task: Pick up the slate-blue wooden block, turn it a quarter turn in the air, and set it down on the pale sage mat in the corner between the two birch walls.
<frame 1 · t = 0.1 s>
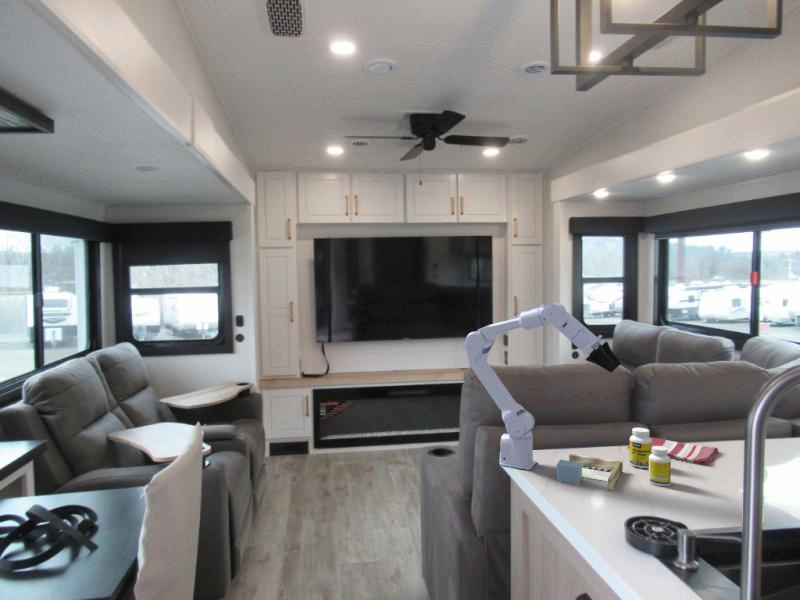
hand: (616, 368, 142), 32 cm above the kitchen island, tool tilted 50°, fingers open, 7 cm apart
dish towel: (672, 453, 166), on the kitchen island
pill bottle: (640, 466, 154), on the kitchen island
supplement bottle: (659, 483, 141), on the kitchen island
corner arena: (595, 474, 148), on the kitchen island
slate block: (569, 481, 144), on the kitchen island
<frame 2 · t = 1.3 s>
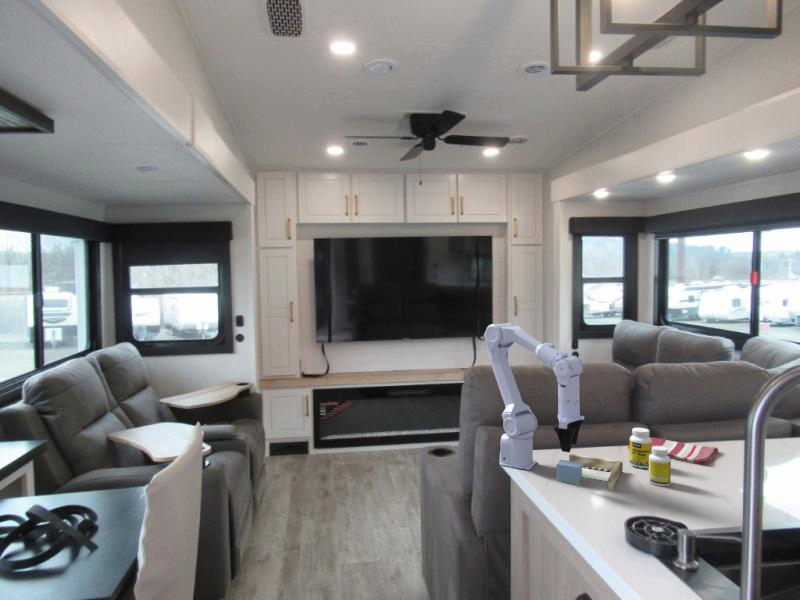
hand: (569, 447, 143), 9 cm above the kitchen island, tool pointing down, fingers open, 7 cm apart
nothing on the kitchen island moved.
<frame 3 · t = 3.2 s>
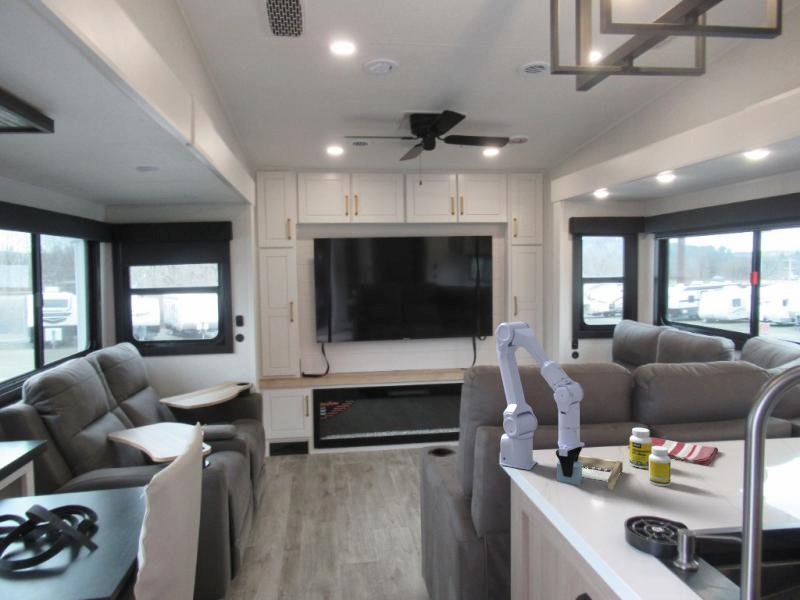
hand: (569, 473, 144), 2 cm above the kitchen island, tool pointing down, fingers closed on slate block, 4 cm apart
slate block: (569, 480, 144), on the kitchen island, touching gripper
everything else where it was.
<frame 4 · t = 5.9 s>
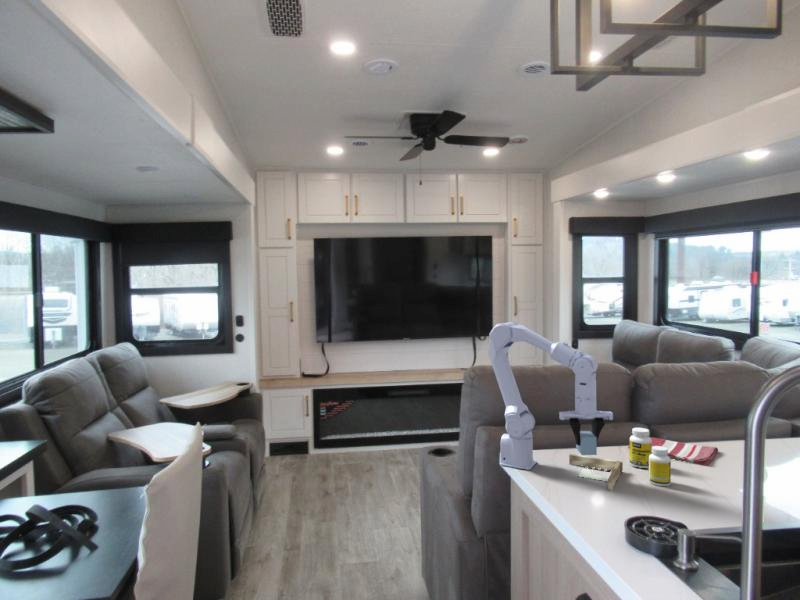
hand: (586, 444, 146), 9 cm above the kitchen island, tool pointing down, fingers closed on slate block, 4 cm apart
slate block: (586, 451, 146), point 7 cm above the kitchen island, touching gripper
everything else where it was.
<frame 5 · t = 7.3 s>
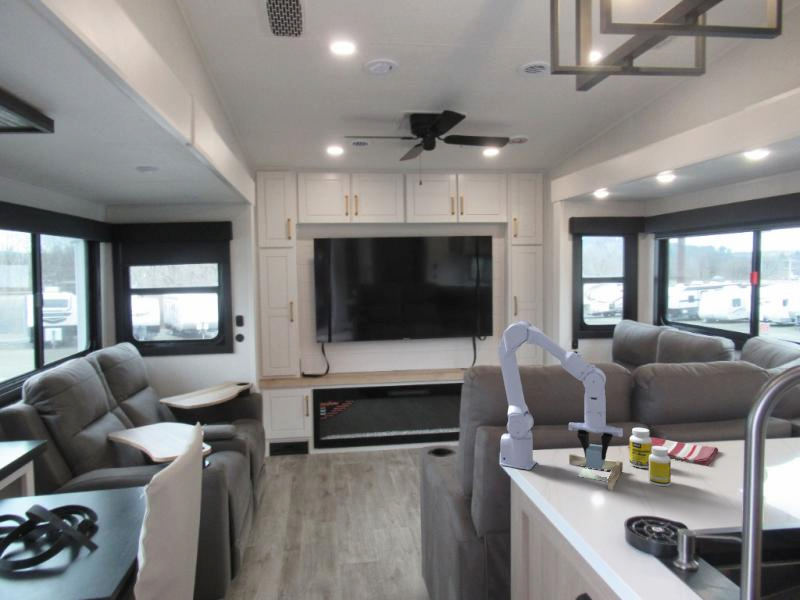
hand: (595, 457, 147), 5 cm above the kitchen island, tool pointing down, fingers closed on slate block, 4 cm apart
slate block: (595, 464, 148), point 3 cm above the kitchen island, touching gripper
everything else where it was.
when the fingers open (3 cm above the kitchen island, at t = 8.6 s): slate block stays where it is, resting on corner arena.
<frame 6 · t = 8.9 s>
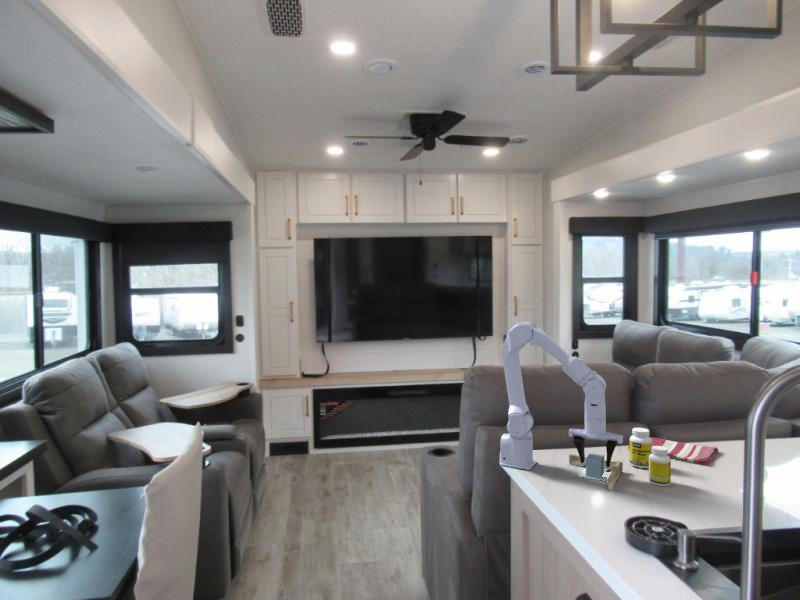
hand: (595, 464, 147), 3 cm above the kitchen island, tool pointing down, fingers open, 6 cm apart
slate block: (595, 473, 148), resting on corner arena
everything else where it was.
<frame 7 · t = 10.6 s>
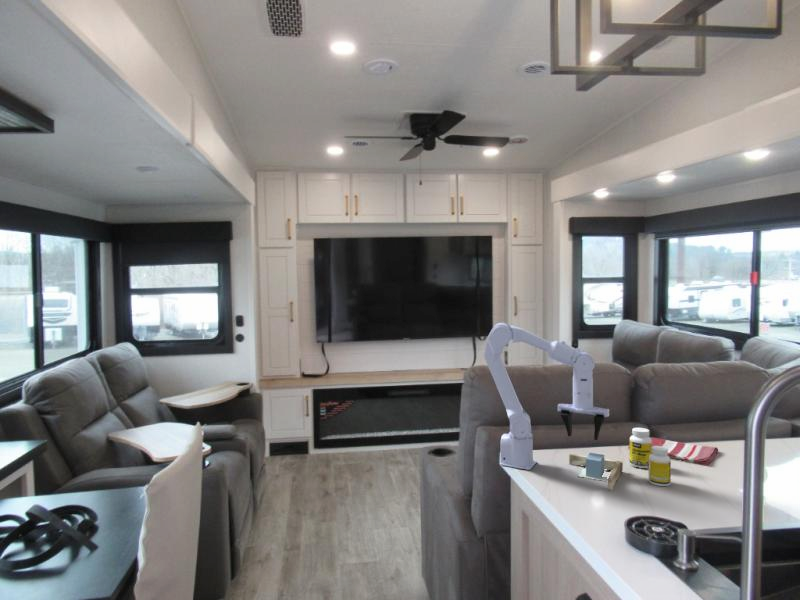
hand: (582, 437, 153), 9 cm above the kitchen island, tool pointing down, fingers open, 7 cm apart
nothing on the kitchen island moved.
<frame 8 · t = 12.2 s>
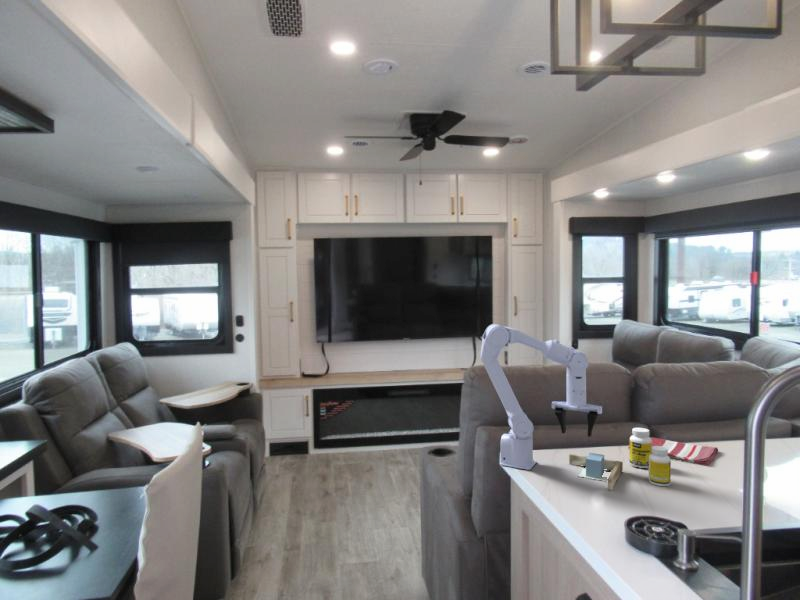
hand: (576, 434, 156), 9 cm above the kitchen island, tool pointing down, fingers open, 7 cm apart
nothing on the kitchen island moved.
at the end: slate block 0.1 cm off-centre on the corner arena, point 0.2 cm above the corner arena's base; slate block tilted 0°; the gripper is holding nothing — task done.
